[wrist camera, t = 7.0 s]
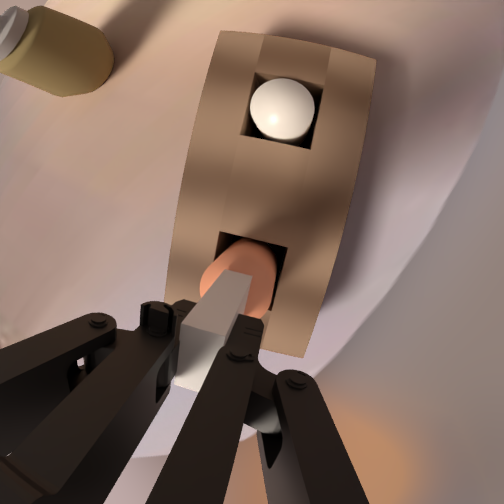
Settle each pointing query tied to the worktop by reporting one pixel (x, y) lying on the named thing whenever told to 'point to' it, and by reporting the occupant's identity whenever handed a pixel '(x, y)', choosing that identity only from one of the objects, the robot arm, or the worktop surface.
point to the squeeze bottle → (53, 51)
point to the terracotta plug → (247, 272)
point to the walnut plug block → (272, 175)
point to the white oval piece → (283, 111)
